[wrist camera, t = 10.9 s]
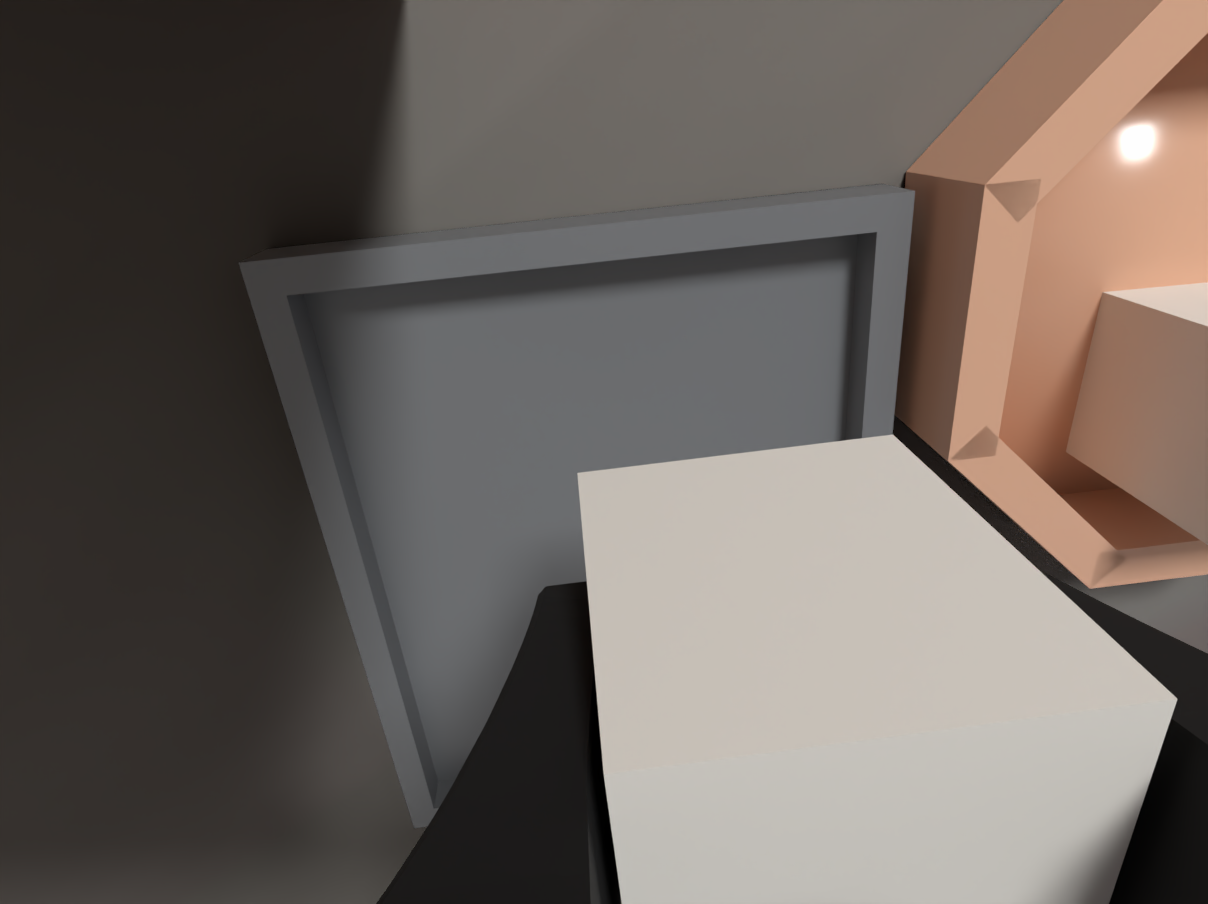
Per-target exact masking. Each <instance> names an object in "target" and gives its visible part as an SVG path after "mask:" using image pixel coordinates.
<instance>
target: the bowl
mask: <svg viewBox="0 0 1208 904" xmlns="http://www.w3.org/2000/svg"><path fill="white" fill-rule="evenodd" d="M905 189H909V190H913V191H915V199H914V210H913V221H912V231H911V242H910V253H909V263H908V274H907V285H906V295H905V306H904V317H903V327H902V338H901V348H900V359H899V370H898V380H897V391H896V402H895V412H894V415H895V416H896V417H898V418H899V419H900V420H901V421H902V422H903V423H904V424H905V425H906V426H908V427H909V428H910V429H911V430H912V431H913V432H914V433H915V434H916V435H918V436H919V437H920V438H921V439H922V440H923V441H924V442H925V443H926V444H928V445H929V446H930V447H931V448H932V449H933V450H934V451H935V452H936V453H938V454H939V455H940V456H941V457H942V458H943V459H944V460H945V461H946V462H948V463H949V464H950V465H951V466H952V467H953V468H954V469H955V470H956V471H958V472H959V473H960V474H961V475H962V476H963V477H964V478H965V479H966V480H968V481H969V482H970V483H971V484H972V485H973V486H974V487H975V488H976V489H978V490H979V491H980V492H981V493H982V494H983V495H984V496H985V497H987V498H988V499H989V500H990V501H991V502H992V503H993V504H994V505H995V506H997V507H998V508H999V509H1000V510H1001V511H1002V512H1003V513H1004V514H1005V515H1007V516H1008V517H1009V518H1010V519H1011V520H1012V521H1013V522H1014V523H1015V524H1016V525H1017V526H1019V527H1020V528H1021V529H1022V530H1023V531H1024V532H1025V533H1027V534H1028V535H1029V536H1030V537H1031V538H1032V539H1033V540H1035V541H1036V542H1037V543H1038V544H1039V545H1040V546H1041V547H1043V548H1044V549H1045V550H1046V551H1047V552H1048V553H1049V554H1051V555H1052V556H1053V557H1054V558H1055V559H1056V560H1057V561H1058V562H1060V563H1061V564H1062V565H1063V566H1064V567H1065V568H1066V569H1068V570H1069V571H1070V572H1071V573H1072V574H1073V575H1074V576H1076V577H1077V578H1078V579H1079V580H1080V581H1081V582H1082V583H1084V584H1085V585H1086V586H1087V587H1088V588H1089V589H1092V588H1100V587H1108V586H1116V585H1124V584H1132V583H1140V582H1148V581H1157V580H1165V579H1173V578H1181V577H1189V576H1197V575H1205V574H1208V545H1207V544H1205V543H1204V542H1202V541H1201V540H1199V539H1198V538H1196V537H1195V536H1193V535H1192V534H1190V533H1189V532H1187V531H1186V530H1184V529H1182V528H1181V527H1179V526H1178V525H1176V524H1175V523H1173V522H1172V521H1170V520H1169V519H1167V518H1166V517H1164V516H1163V515H1161V514H1160V513H1158V512H1157V511H1155V510H1154V509H1152V508H1150V507H1149V506H1147V505H1146V504H1144V503H1143V502H1141V501H1140V500H1138V499H1137V498H1135V497H1134V496H1132V495H1131V494H1129V493H1128V492H1126V491H1125V490H1123V489H1122V488H1120V487H1118V486H1117V485H1115V484H1114V483H1112V482H1111V481H1109V480H1108V479H1106V478H1105V477H1103V476H1102V475H1100V474H1099V473H1097V472H1096V471H1094V470H1093V469H1091V468H1090V467H1088V466H1086V465H1085V464H1083V463H1082V462H1080V461H1079V460H1077V459H1076V458H1074V457H1073V456H1071V455H1070V454H1068V453H1067V452H1066V448H1067V444H1068V440H1069V435H1070V431H1071V427H1072V422H1073V418H1074V414H1075V409H1076V405H1077V401H1078V397H1079V392H1080V388H1081V384H1082V379H1083V375H1084V371H1085V366H1086V362H1087V358H1088V353H1089V349H1090V345H1091V341H1092V336H1093V332H1094V328H1095V323H1096V319H1097V315H1098V310H1099V306H1100V302H1101V298H1102V293H1103V292H1110V291H1120V290H1131V289H1142V288H1153V287H1163V286H1174V285H1185V284H1196V283H1207V282H1208V0H1063V2H1062V3H1061V4H1060V5H1059V6H1058V7H1057V8H1056V9H1055V10H1054V11H1053V12H1052V13H1051V15H1050V16H1049V17H1048V18H1047V19H1046V20H1045V21H1044V22H1043V23H1042V24H1041V25H1040V27H1039V28H1038V29H1037V30H1036V31H1035V32H1034V33H1033V34H1032V35H1031V36H1030V37H1029V39H1028V40H1027V41H1026V42H1025V43H1024V44H1023V45H1022V46H1021V47H1020V48H1019V49H1018V50H1017V52H1016V53H1015V54H1014V55H1013V56H1012V57H1011V58H1010V59H1009V60H1008V61H1007V62H1006V64H1005V65H1004V66H1003V67H1002V68H1001V69H1000V70H999V71H998V72H997V73H996V74H995V76H994V77H993V78H992V79H991V80H990V81H989V82H988V83H987V84H986V85H985V86H984V88H983V89H982V90H981V91H980V92H979V93H978V94H977V95H976V96H975V97H974V98H973V99H972V101H971V102H970V103H969V104H968V105H967V106H966V107H965V108H964V109H963V110H962V111H961V113H960V114H959V115H958V116H957V117H956V118H955V119H954V120H953V121H952V122H951V123H950V125H949V126H948V127H947V128H946V129H945V130H944V131H943V132H942V133H941V134H940V135H939V137H938V138H937V139H936V140H935V141H934V142H933V143H932V144H931V145H930V146H929V147H928V148H927V150H926V151H925V152H924V153H923V154H922V155H921V156H920V157H919V158H918V159H917V160H916V162H915V163H914V164H913V165H912V166H911V167H910V168H909V169H908V170H907V171H906V180H905Z"/></svg>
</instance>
